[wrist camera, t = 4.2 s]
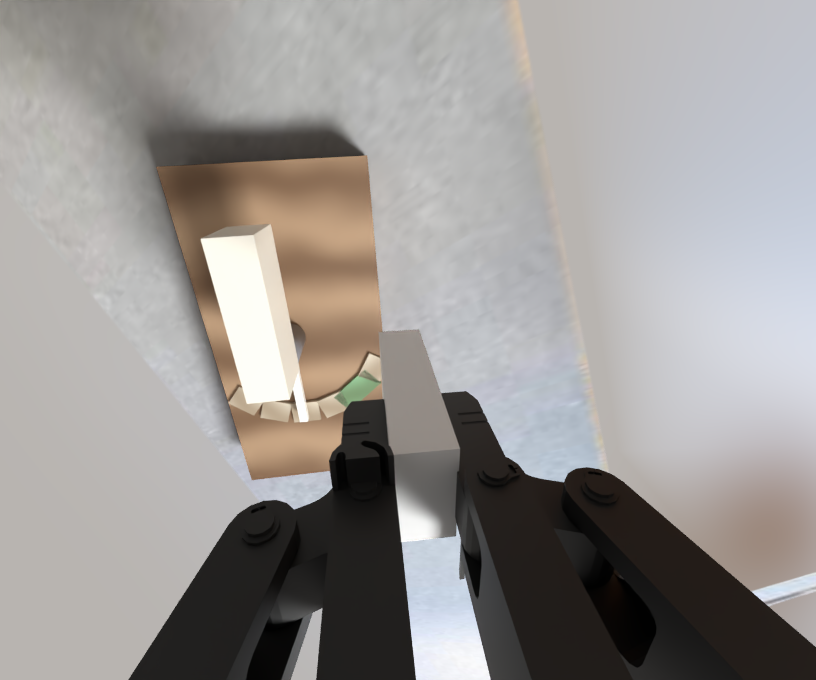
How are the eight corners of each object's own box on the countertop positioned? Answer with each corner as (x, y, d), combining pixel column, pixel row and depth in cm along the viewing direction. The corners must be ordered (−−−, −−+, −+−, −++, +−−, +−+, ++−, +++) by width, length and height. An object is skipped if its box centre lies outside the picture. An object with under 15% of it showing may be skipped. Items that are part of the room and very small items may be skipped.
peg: (247, 217, 27) (200, 238, 19) (284, 214, 27) (253, 235, 19) (291, 414, 34) (270, 488, 26) (320, 411, 34) (308, 484, 26)
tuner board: (182, 166, 29) (153, 166, 25) (372, 156, 30) (373, 155, 26) (261, 451, 41) (251, 482, 37) (395, 436, 42) (398, 464, 38)
